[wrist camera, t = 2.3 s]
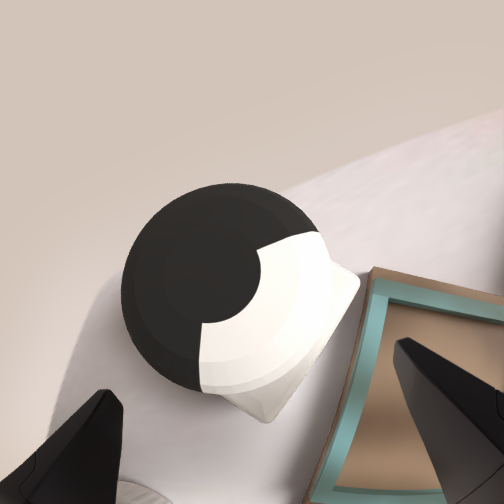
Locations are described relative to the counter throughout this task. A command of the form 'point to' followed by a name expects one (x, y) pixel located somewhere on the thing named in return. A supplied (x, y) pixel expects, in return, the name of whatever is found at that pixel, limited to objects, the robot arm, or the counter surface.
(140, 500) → the ramekin
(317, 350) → the medicine bottle
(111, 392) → the robot arm
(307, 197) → the counter surface
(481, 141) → the counter surface
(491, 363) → the socket board
